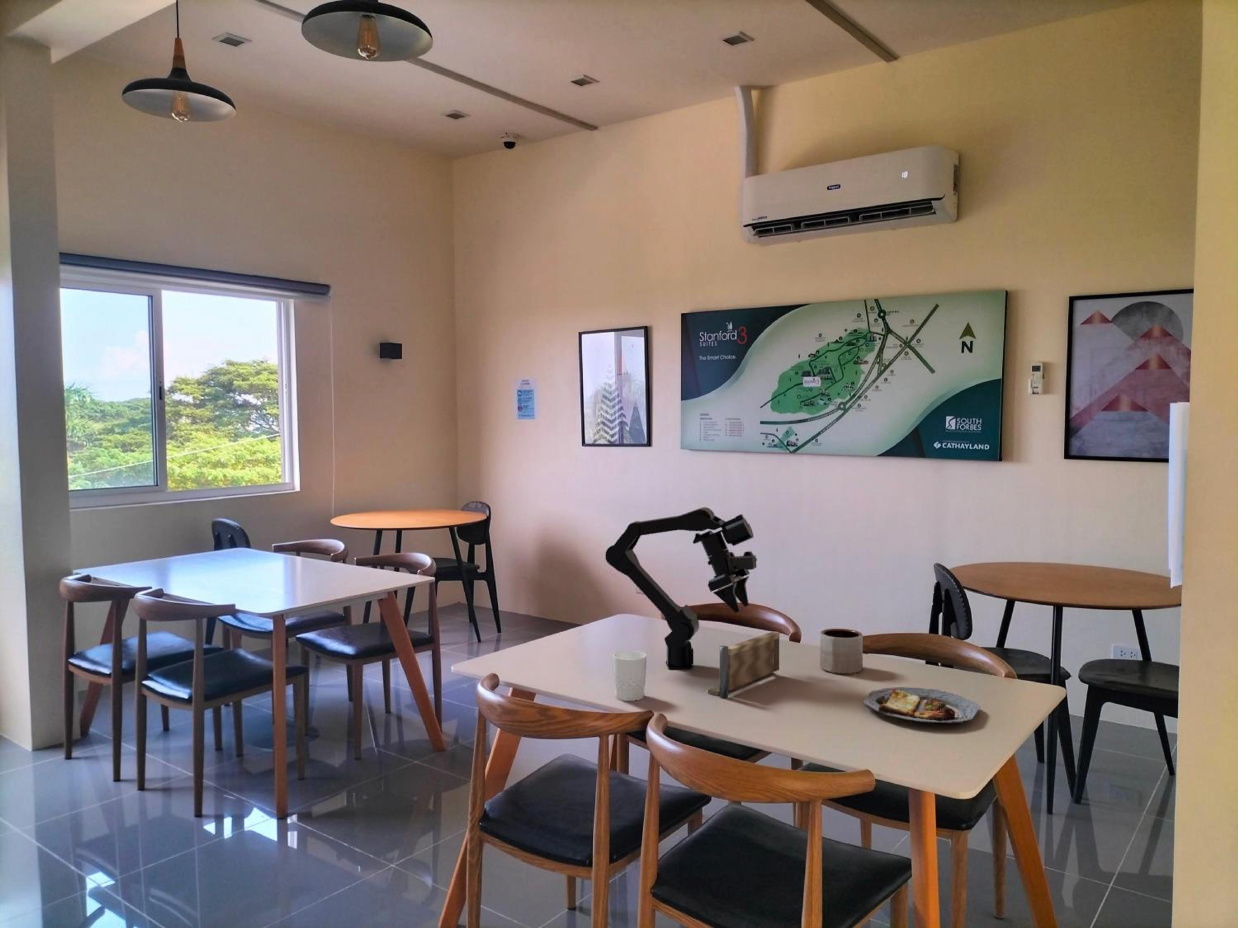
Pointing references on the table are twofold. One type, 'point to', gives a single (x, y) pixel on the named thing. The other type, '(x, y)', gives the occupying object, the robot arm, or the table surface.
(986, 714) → the table surface
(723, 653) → the gate frame
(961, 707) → the food plate
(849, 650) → the planter
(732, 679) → the gate leaf
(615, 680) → the white cup
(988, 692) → the table surface
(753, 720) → the table surface
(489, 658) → the table surface
